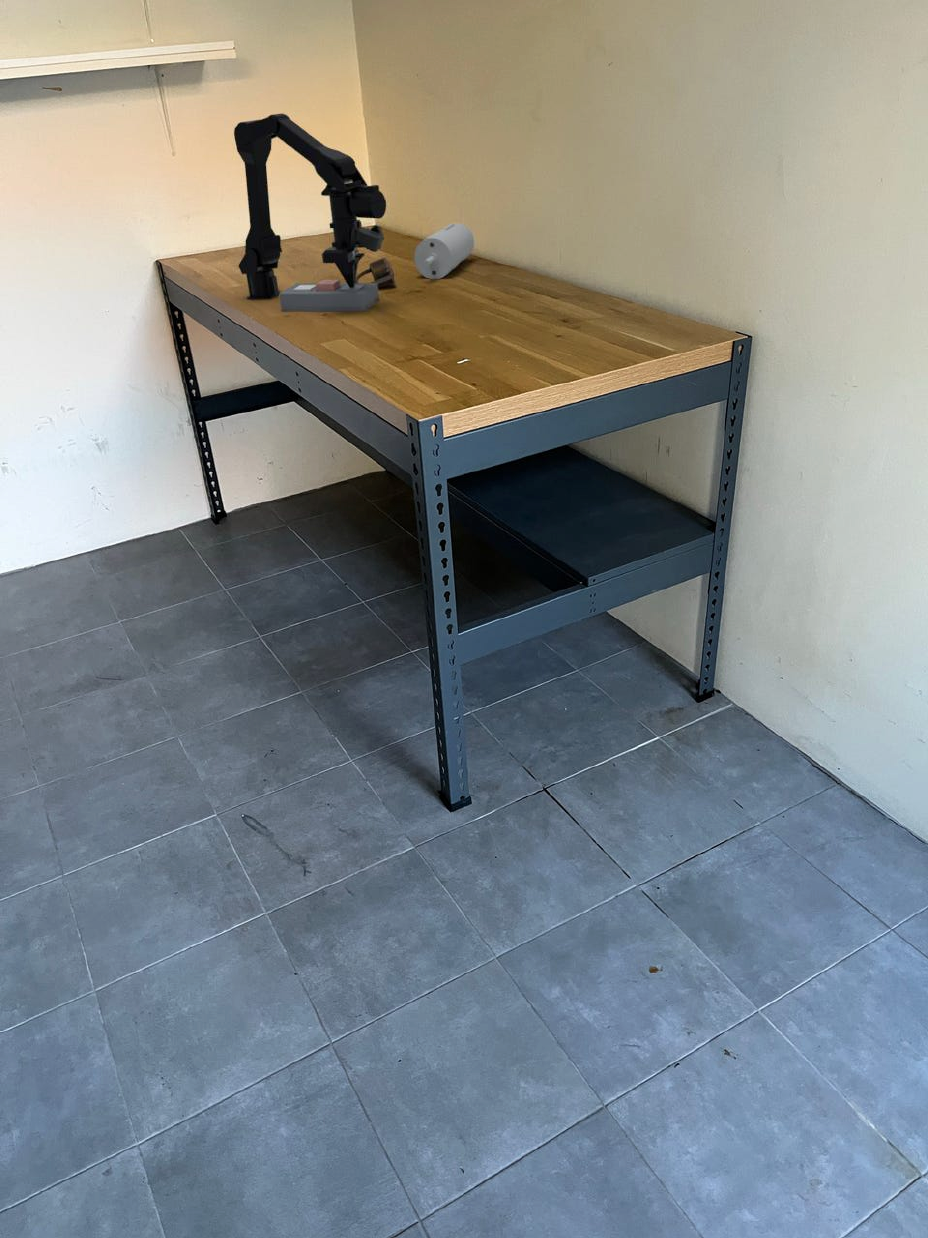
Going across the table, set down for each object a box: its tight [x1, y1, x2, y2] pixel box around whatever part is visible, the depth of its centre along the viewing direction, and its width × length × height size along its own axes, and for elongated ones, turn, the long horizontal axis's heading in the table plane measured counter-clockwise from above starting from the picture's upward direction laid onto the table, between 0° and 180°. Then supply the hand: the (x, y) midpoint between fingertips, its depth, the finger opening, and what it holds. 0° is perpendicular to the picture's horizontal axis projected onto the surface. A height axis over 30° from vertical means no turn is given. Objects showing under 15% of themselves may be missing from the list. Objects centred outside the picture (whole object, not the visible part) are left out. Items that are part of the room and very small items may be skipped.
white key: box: [293, 285, 316, 291], centre depth 226 cm, size 4×4×3 cm
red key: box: [316, 279, 341, 291], centre depth 224 cm, size 4×4×3 cm
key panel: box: [278, 282, 380, 313], centre depth 225 cm, size 21×11×4 cm, turn 77°
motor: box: [413, 222, 475, 280], centre depth 250 cm, size 30×10×10 cm, turn 165°
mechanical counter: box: [355, 256, 397, 289], centre depth 238 cm, size 7×13×10 cm
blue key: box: [340, 285, 364, 291], centre depth 223 cm, size 4×4×3 cm
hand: (351, 287), depth 223 cm, fingers closed, pressing on blue key
